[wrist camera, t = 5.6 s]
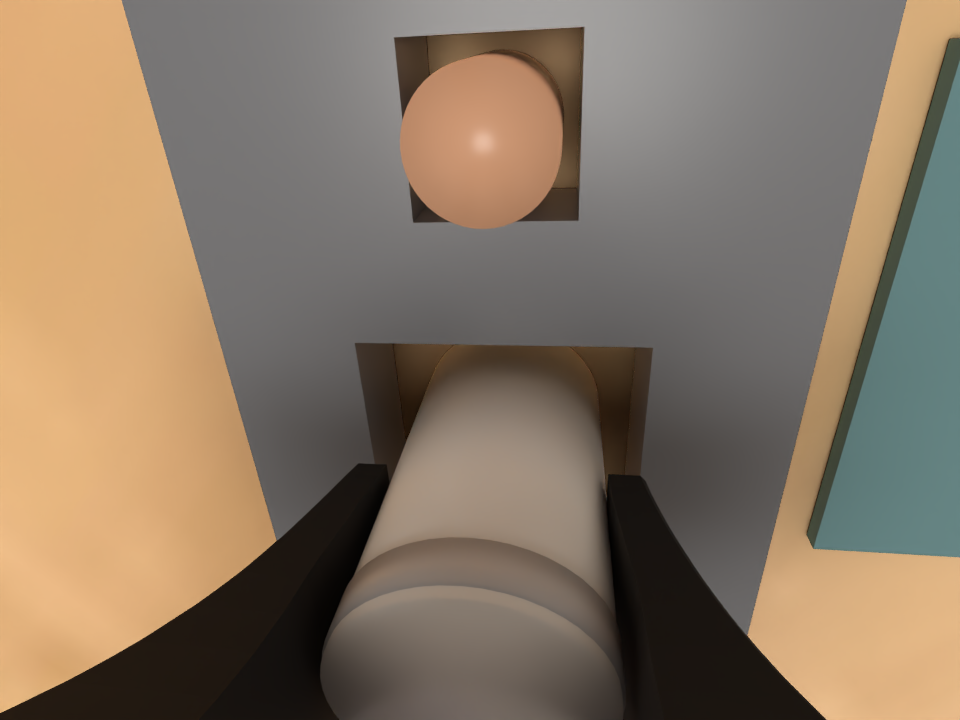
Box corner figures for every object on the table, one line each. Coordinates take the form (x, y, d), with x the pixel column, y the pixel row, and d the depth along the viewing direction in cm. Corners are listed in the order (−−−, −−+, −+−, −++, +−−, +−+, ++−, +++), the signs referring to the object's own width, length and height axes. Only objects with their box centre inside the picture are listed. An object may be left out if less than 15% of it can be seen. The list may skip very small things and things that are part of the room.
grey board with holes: (719, 580, 18) (741, 658, 15) (330, 555, 19) (300, 622, 17) (857, -91, 10) (937, -124, 8) (192, -40, 12) (106, -56, 9)
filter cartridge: (596, 474, 16) (616, 802, 9) (435, 467, 17) (342, 771, 10) (604, 325, 14) (639, 609, 7) (419, 323, 15) (288, 583, 8)
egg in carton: (562, 179, 12) (561, 227, 9) (447, 181, 13) (409, 230, 10) (565, 46, 11) (563, 53, 8) (438, 52, 11) (390, 61, 8)
